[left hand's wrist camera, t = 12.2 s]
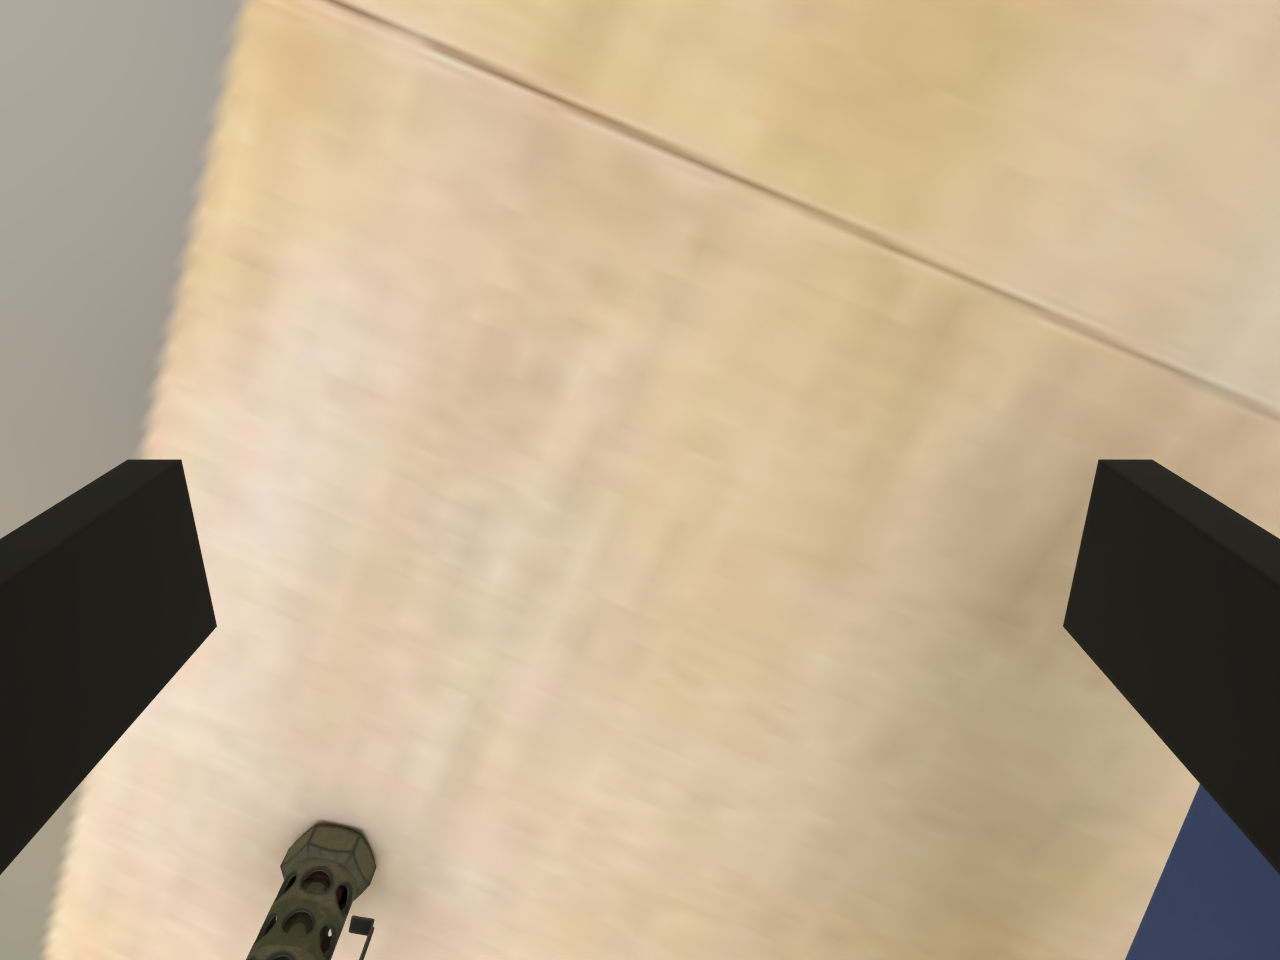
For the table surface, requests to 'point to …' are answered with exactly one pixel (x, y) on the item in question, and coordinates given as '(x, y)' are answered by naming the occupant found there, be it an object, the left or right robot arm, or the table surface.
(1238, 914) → the bar
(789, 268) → the table surface
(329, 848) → the grenade
